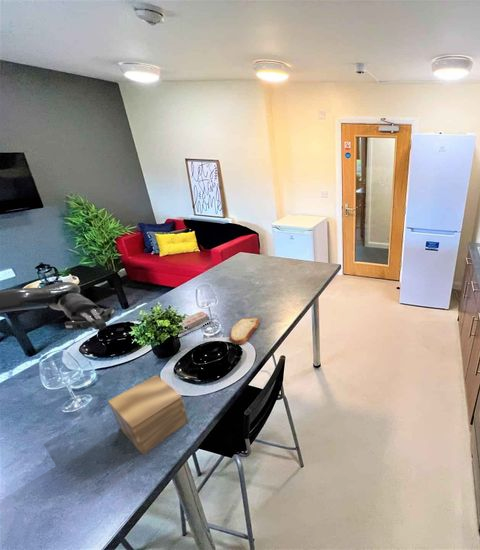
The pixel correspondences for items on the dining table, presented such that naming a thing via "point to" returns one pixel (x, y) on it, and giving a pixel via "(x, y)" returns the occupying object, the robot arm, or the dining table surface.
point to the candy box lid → (144, 401)
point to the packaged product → (194, 322)
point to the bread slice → (243, 330)
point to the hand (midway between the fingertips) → (101, 326)
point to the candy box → (154, 426)
